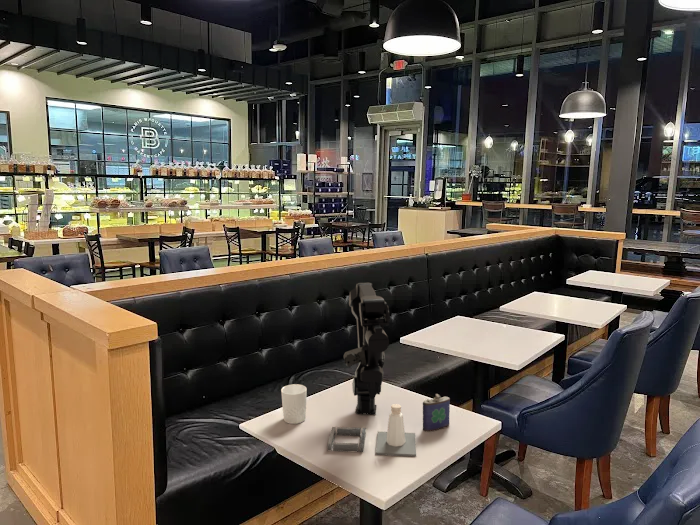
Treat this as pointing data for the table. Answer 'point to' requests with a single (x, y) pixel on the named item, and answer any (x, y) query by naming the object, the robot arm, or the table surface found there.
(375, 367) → the robot arm
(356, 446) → the holder
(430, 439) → the table surface
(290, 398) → the white cup
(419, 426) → the table surface
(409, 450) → the mat
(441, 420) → the flask
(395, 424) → the pepper shaker
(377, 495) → the table surface
